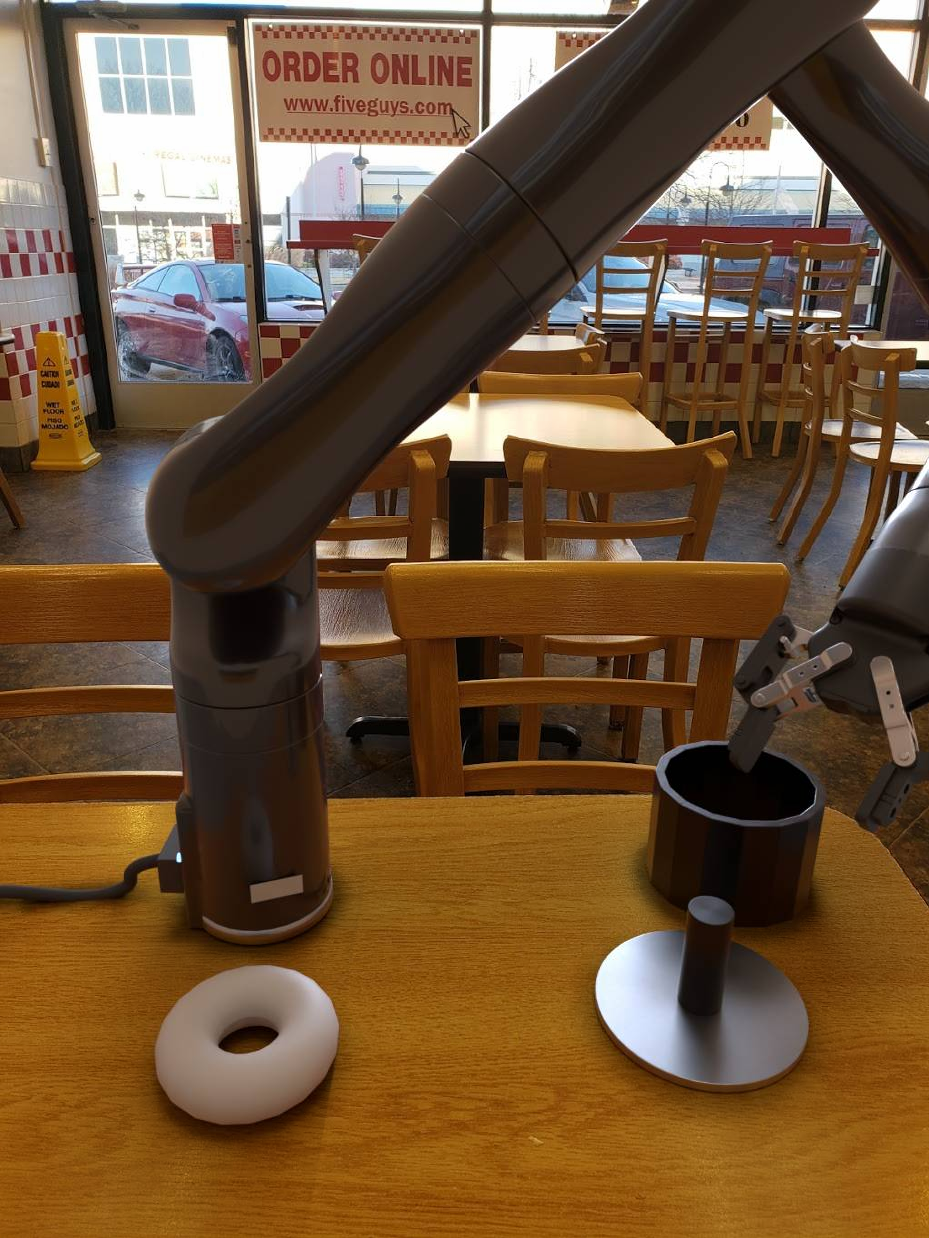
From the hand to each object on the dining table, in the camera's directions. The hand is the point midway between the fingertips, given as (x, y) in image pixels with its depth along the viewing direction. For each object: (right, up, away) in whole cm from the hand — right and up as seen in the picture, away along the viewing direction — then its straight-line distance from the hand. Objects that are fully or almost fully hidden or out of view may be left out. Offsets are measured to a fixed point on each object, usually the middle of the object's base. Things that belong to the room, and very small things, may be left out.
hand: (797, 795), depth 57 cm
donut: (-32, -14, -4) cm, 35 cm away
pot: (-1, -9, +12) cm, 15 cm away
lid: (-6, -13, 0) cm, 14 cm away
